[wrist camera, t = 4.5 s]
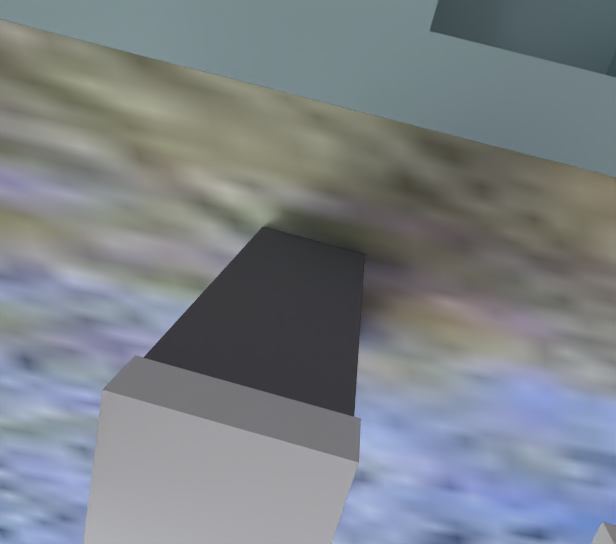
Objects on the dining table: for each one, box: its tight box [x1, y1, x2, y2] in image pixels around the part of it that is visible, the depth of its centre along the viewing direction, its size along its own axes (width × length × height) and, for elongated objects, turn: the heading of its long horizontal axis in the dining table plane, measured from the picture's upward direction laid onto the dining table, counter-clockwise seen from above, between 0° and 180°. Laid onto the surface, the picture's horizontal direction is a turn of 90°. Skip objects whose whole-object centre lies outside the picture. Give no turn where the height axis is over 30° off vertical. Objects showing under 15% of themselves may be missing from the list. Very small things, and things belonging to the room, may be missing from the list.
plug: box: [83, 227, 365, 544], centre depth 15 cm, size 4×4×12 cm
